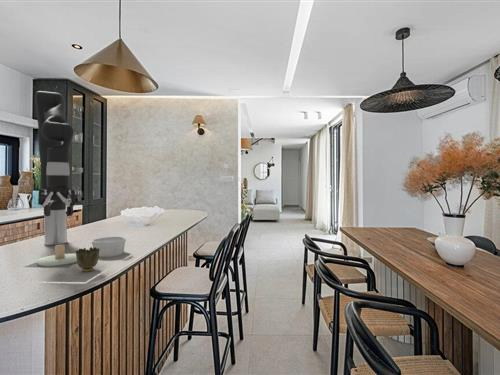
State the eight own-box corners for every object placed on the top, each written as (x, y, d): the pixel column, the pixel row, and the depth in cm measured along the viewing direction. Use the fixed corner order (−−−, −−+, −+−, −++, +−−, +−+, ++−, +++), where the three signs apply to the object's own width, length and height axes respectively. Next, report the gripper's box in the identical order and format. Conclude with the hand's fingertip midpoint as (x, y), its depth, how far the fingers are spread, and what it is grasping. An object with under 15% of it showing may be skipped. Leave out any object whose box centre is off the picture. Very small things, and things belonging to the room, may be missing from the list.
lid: (53, 256, 125) (53, 241, 125) (89, 256, 125) (89, 241, 125) (26, 266, 110) (26, 249, 110) (67, 266, 110) (67, 250, 110)
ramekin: (90, 260, 122) (90, 243, 122) (92, 253, 134) (92, 237, 134) (126, 257, 127) (126, 241, 127) (125, 250, 139) (125, 235, 139)
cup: (75, 276, 101) (74, 252, 101) (76, 270, 108) (76, 248, 108) (99, 273, 105) (99, 250, 105) (99, 267, 111) (99, 246, 111)
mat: (53, 257, 126) (53, 255, 126) (91, 257, 126) (91, 256, 126) (24, 268, 110) (24, 266, 110) (67, 269, 110) (67, 267, 110)
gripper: (82, 174, 120) (82, 215, 121) (46, 174, 121) (47, 214, 121) (70, 174, 113) (70, 217, 113) (32, 174, 113) (33, 217, 113)
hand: (58, 216), depth 117 cm, fingers open, 8 cm apart
